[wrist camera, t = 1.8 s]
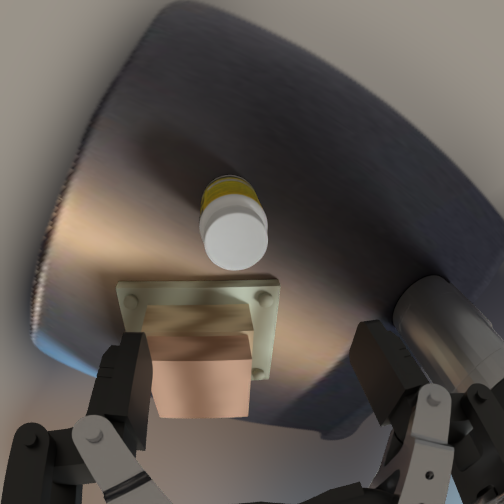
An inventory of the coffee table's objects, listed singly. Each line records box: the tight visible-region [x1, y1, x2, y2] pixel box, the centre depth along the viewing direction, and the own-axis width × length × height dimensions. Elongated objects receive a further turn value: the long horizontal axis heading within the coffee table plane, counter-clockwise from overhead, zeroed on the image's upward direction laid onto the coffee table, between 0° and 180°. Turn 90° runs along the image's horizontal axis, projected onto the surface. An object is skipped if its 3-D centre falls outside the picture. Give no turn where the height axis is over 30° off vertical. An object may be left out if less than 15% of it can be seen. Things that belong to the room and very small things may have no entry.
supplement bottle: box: [199, 175, 268, 270], centre depth 22 cm, size 5×5×8 cm
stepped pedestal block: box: [116, 279, 281, 418], centre depth 29 cm, size 16×14×8 cm
